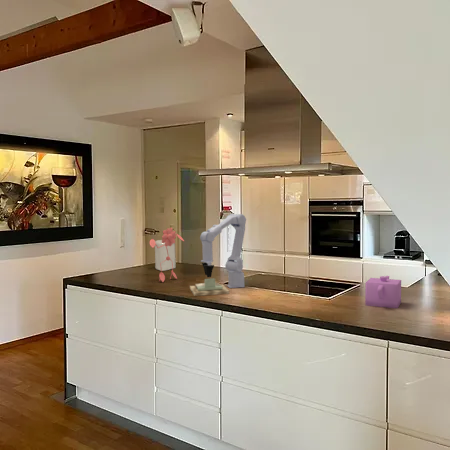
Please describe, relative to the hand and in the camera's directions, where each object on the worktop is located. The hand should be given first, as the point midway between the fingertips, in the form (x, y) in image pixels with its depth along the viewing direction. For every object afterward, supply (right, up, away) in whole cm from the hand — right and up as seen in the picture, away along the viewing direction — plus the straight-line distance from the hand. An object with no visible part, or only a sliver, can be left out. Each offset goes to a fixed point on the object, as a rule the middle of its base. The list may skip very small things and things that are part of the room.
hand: (208, 276), depth 270 cm
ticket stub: (+1, -8, +1) cm, 8 cm away
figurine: (-25, -8, +34) cm, 43 cm away
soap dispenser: (-37, -4, +83) cm, 91 cm away
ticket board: (0, -9, +4) cm, 10 cm away
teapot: (+90, -11, -32) cm, 96 cm away
